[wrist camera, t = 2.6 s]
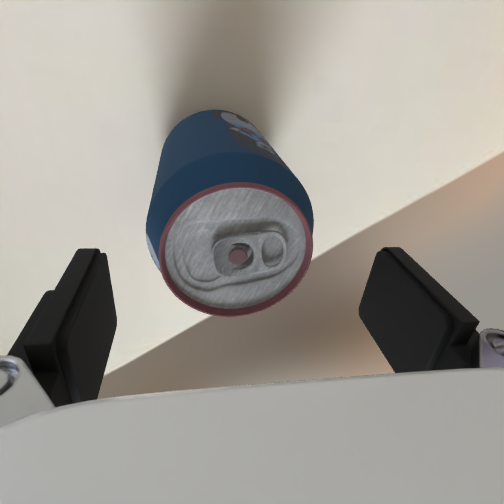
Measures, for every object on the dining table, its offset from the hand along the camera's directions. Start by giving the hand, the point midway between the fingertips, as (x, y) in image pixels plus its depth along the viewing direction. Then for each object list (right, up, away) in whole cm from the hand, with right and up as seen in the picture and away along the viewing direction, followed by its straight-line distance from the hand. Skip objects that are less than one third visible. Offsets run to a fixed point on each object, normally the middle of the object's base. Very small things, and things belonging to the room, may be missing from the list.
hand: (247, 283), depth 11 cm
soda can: (-2, +7, +11) cm, 13 cm away
